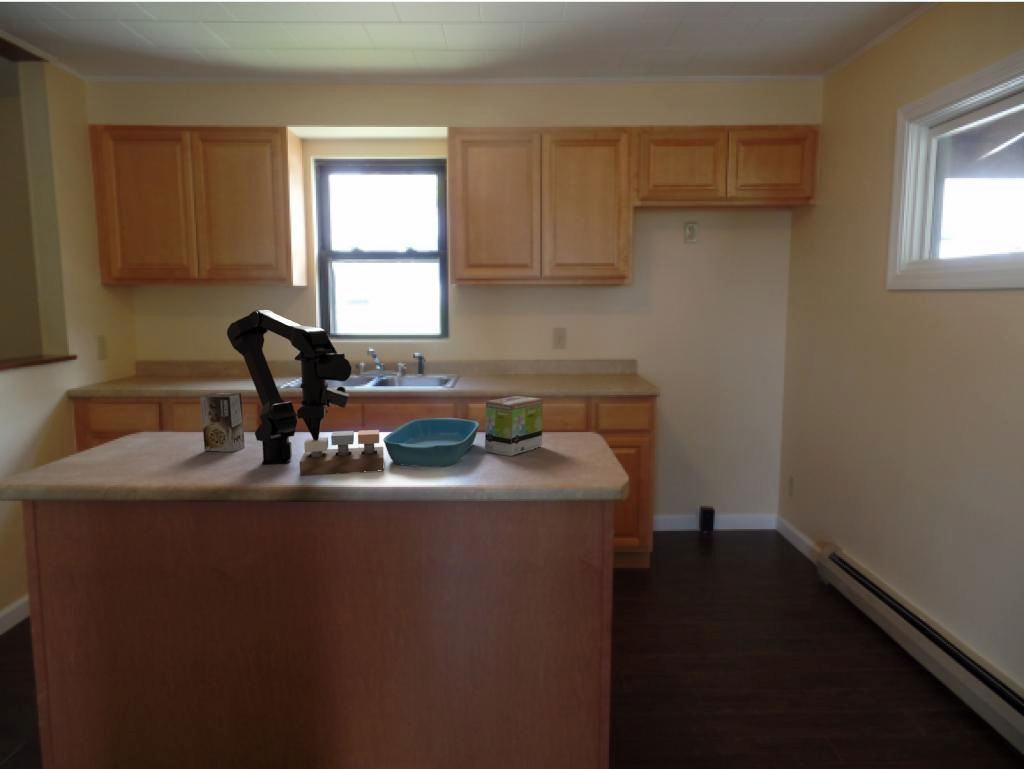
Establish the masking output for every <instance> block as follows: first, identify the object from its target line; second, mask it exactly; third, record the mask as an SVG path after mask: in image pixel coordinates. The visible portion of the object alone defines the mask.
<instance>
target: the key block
mask: <svg viewBox="0 0 1024 769" xmlns="http://www.w3.org/2000/svg"><path fill="white" fill-rule="evenodd" d="M348 450H349V455H348V456H338V448H330V449H329V448H327V451H322V457H312V452H305V451H304V453H303V454H302V456H301V459H300V460H299V476H321V475H337V474H336V473H341V474H350V473H349V472H360V473H365V472H364V471H378V470H383V471H384V469H383V463H384V446H374V452H375V454H369V455H364V447H350V448H349V447H348ZM378 472H379V471H378Z"/></svg>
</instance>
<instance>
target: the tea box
mask: <svg viewBox="0 0 1024 769" xmlns="http://www.w3.org/2000/svg"><path fill="white" fill-rule="evenodd" d="M543 409H544V399H543V398H538V397H529V396H523V395H515V396H509V397H503V398H497V399H492V400H491V399H490V400H486V401H485V428H484V429H485V430H484V433H485V434H484V435H485V436H484V438H485V439H484V450H485V452H488V453H492V454H497V455H502V456H506V455H507V456H508V457H512V456H515V455H518V454H520V453H524V452H528V451H532V450H535V448H536V449H539V448H538V447H540V448H542V447H541V446H543V445H542V444H543V421H544V420H543V416H544V415H543V412H544V411H543ZM507 456H506V457H507Z"/></svg>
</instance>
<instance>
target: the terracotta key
mask: <svg viewBox="0 0 1024 769" xmlns="http://www.w3.org/2000/svg"><path fill="white" fill-rule="evenodd" d="M357 444H358V445H363V448H364V455H369V454H375V452H374V447H375V444H380V430H379V429H367V430H358V432H357Z"/></svg>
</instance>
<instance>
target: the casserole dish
mask: <svg viewBox="0 0 1024 769" xmlns="http://www.w3.org/2000/svg"><path fill="white" fill-rule="evenodd" d="M479 426H480V424H479V422H478V421H475V420H471V419H470V420H469V419H462V418H456V417H455V418H454V417H435V418H433V417H431V418H419V419H414V420H411V421H408V422H406V423H404V424H402V425H401V426H399V427H398V428H396V429H395V430H393V431H391V432H390V433H388V434H387V435H386V436H384V438H383V442H384V446H385V448H386V451H387V453H388V455H389V458H390V460H391V461H392V462H393V463H395V464H396V463H397V464H396V465H399V464H403V465H402V466H408V465H421V466H420V467H447V466H451V465H454V464H456V463H458V462H459V461H460V460H461V459H462V458H463V457H464V456H465V454H466V453H467V452H468V451H469V449H470V448H471V447H472V446H473V443H474V442H475V440H476V437H477V433H478V429H479Z"/></svg>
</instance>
